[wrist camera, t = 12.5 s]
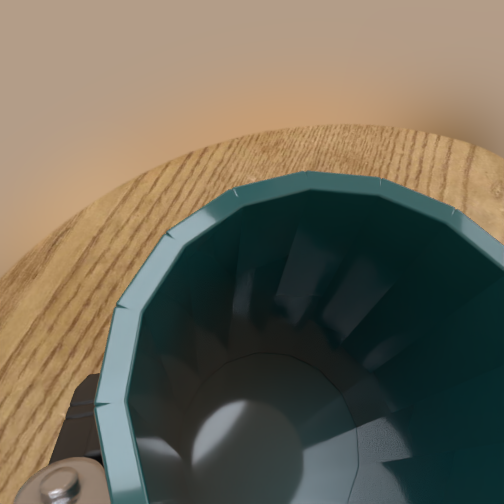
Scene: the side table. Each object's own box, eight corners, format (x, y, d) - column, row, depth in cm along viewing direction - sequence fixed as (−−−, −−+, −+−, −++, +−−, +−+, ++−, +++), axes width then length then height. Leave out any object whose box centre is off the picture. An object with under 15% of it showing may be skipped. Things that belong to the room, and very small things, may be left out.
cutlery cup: (202, 600, 12) (178, 885, 3) (148, 381, 15) (59, 227, 6) (398, 510, 14) (731, 549, 5) (317, 325, 16) (438, 136, 8)
